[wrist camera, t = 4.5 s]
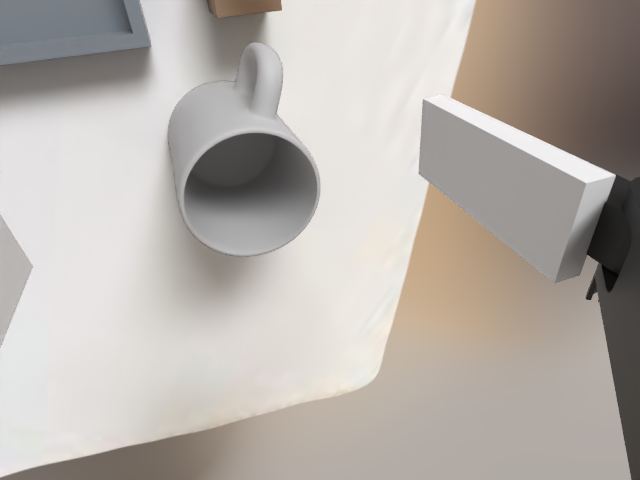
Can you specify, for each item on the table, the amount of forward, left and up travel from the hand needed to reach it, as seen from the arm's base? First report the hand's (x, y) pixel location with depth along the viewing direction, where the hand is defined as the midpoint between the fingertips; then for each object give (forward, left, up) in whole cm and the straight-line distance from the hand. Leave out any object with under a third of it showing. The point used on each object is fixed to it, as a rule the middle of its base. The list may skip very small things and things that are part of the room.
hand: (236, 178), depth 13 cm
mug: (+2, -4, -21) cm, 21 cm away
